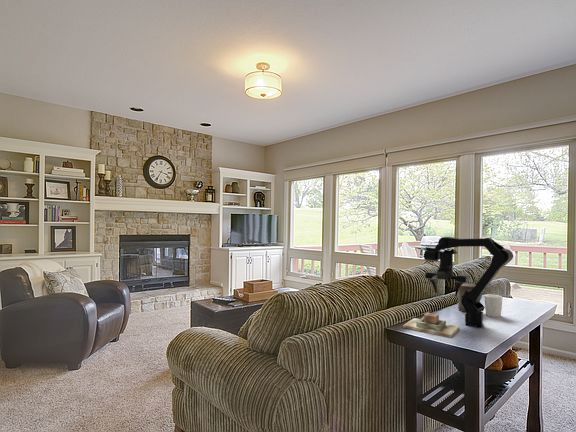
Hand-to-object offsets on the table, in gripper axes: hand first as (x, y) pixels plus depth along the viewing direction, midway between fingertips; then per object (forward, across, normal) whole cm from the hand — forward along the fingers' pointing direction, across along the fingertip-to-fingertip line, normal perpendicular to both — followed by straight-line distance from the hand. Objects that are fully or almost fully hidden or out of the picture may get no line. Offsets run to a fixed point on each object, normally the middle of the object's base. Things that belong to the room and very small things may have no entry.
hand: (446, 294), depth 173 cm
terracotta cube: (+11, -1, -20) cm, 23 cm away
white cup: (+12, +17, +22) cm, 30 cm away
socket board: (+12, -1, -20) cm, 23 cm away
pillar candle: (+12, +5, +24) cm, 27 cm away
